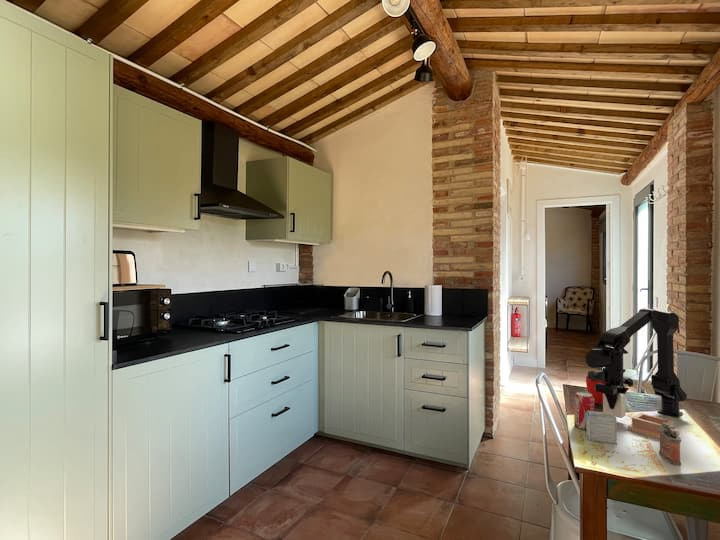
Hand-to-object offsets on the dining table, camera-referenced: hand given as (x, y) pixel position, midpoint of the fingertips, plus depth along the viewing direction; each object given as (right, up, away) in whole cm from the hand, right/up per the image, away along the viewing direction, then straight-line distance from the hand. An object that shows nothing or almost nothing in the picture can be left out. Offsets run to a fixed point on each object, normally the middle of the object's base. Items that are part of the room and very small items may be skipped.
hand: (614, 407), depth 146 cm
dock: (+7, -5, -10) cm, 13 cm away
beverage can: (-14, -5, -6) cm, 16 cm away
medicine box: (-14, -5, -16) cm, 22 cm away
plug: (0, -3, 0) cm, 3 cm away
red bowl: (+8, -5, +21) cm, 23 cm away
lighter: (-2, -5, -29) cm, 30 cm away
